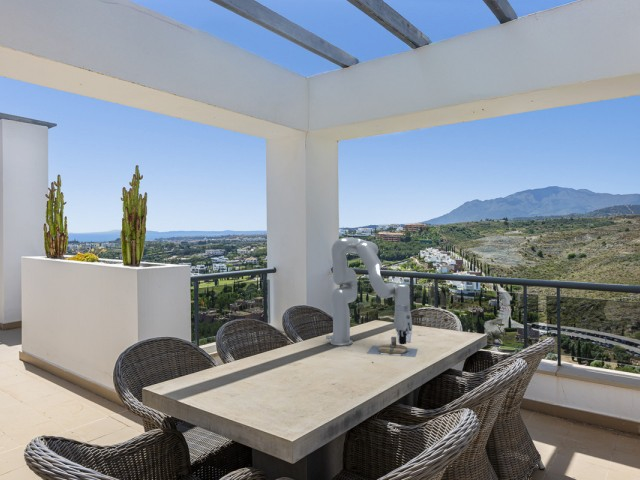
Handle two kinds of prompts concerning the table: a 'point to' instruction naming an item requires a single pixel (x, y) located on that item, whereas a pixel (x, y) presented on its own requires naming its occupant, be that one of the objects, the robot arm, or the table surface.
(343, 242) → the robot arm
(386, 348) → the crank wheel
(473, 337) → the table surface
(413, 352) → the blue-grey base board
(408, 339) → the cup
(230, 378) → the table surface
